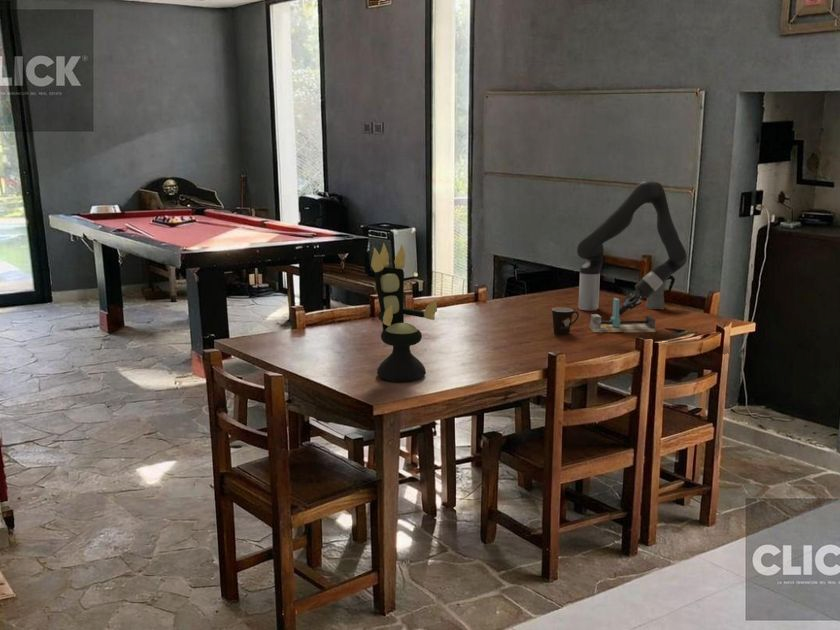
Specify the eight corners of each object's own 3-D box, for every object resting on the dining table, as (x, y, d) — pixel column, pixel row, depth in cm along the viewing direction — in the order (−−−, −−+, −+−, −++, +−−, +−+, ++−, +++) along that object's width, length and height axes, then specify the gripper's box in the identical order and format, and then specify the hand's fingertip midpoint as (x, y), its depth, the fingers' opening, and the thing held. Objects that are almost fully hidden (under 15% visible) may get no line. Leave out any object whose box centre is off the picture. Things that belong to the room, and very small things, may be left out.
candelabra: (391, 387, 278) (390, 251, 268) (357, 371, 296) (355, 243, 286) (437, 378, 288) (439, 247, 279) (402, 363, 306) (402, 239, 297)
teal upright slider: (617, 324, 359) (618, 298, 357) (620, 326, 355) (621, 299, 353) (610, 324, 359) (611, 298, 356) (613, 326, 355) (614, 300, 352)
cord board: (648, 327, 363) (649, 312, 361) (655, 332, 355) (656, 316, 353) (589, 328, 361) (589, 313, 359) (594, 332, 353) (595, 317, 351)
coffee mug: (552, 335, 348) (553, 311, 346) (550, 330, 356) (550, 307, 354) (580, 335, 348) (582, 312, 346) (577, 331, 356) (578, 307, 354)
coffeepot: (645, 310, 397) (648, 272, 393) (638, 306, 406) (640, 269, 402) (677, 309, 399) (679, 271, 395) (668, 305, 408) (671, 268, 404)
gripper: (637, 275, 360) (608, 304, 362) (648, 281, 347) (617, 310, 349) (649, 287, 362) (619, 316, 363) (660, 293, 349) (629, 323, 350)
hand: (618, 313), depth 356 cm, fingers closed
